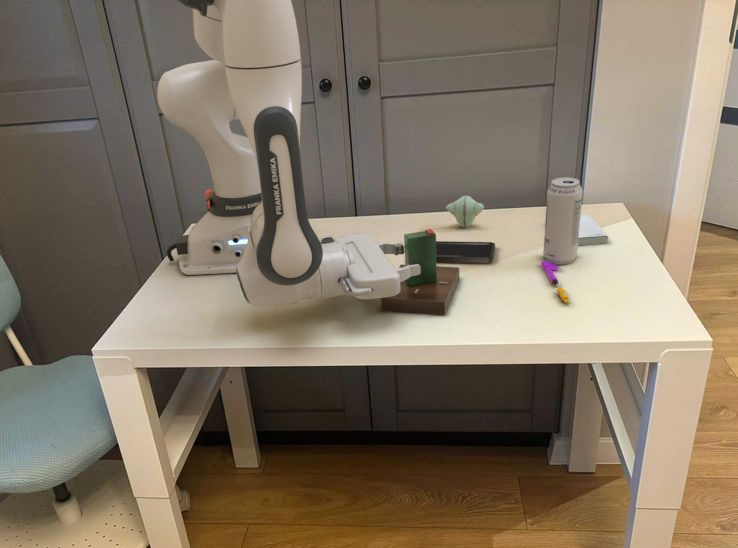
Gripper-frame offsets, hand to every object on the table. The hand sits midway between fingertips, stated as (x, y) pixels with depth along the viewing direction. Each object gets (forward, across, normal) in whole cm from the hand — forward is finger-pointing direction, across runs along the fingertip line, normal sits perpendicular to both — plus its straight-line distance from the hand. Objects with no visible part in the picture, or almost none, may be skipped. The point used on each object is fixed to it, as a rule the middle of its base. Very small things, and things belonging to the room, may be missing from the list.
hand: (411, 257), depth 123 cm
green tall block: (+2, 0, +5) cm, 5 cm away
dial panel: (+2, 0, +8) cm, 8 cm away
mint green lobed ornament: (+20, +27, +8) cm, 35 cm away
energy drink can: (+30, +4, +8) cm, 31 cm away
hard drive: (+39, +15, +8) cm, 43 cm away
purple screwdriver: (+25, -5, +8) cm, 27 cm away
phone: (+13, +14, +8) cm, 21 cm away
